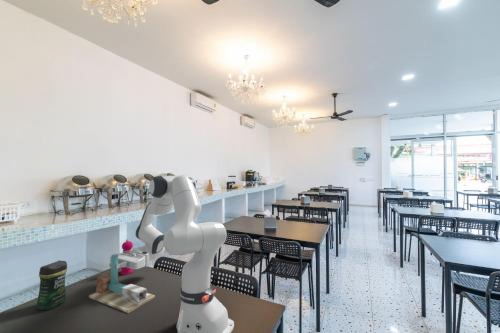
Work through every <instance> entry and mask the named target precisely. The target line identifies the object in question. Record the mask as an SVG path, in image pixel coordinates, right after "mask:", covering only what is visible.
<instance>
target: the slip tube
mask: <svg viewBox="0 0 500 333" xmlns="http://www.w3.org/2000/svg"><path fill="white" fill-rule="evenodd" d="M118 254H119V253H114V254H111V256H110V257H111V267H110V272H111V279H110V282H109V283H108V285H107V289H108V290H111V291H114V292H117V293H120V294H122V287H125V286H127V285H128V284H123V283H120V282H119V268H118V269H117V268H115V264H118ZM117 281H118V282H117Z"/></svg>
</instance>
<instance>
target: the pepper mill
mask: <svg viewBox="0 0 500 333" xmlns="http://www.w3.org/2000/svg"><path fill="white" fill-rule="evenodd" d="M121 244H122V245H121V249H122V253H127V254H130V253H131V251H132V250H133V249H132V248H133V246H134V243H133V242H132V241H130V239H129V238H127V239H126V240H125V241H124V242H123V243H121ZM133 270H134V269H131V268H127V267H121V268H120V275H124V276H125V275H126V274H127V275H130V274H132V273H133V272H134V271H133ZM131 272H132V273H131ZM127 275H126V276H127Z"/></svg>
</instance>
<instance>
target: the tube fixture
mask: <svg viewBox="0 0 500 333" xmlns="http://www.w3.org/2000/svg"><path fill="white" fill-rule="evenodd" d="M110 279H111V271H110V272H108V273H106V274H103V275H100V276H98V277H96V292H94V293H91V294H89V295H88V298H89V299H92V300H93V301H96V302H99V303H101V304H103V305H106V306H109V307H112V308H114V309H117V310H120V311H122V312H124V313H127V314H129V313H131V312H133V311H135V310H136V309H138V308H140V307H142V306H143V305H145V304H146V303H148V302H150V301H152V300H153V299H156V295H154V294H152V293H149V292H148V289H147V288H146V287H142V286H139V285H136V284H132V283H130V284H129V283H128V284H126V285H127V286H125V287H122V294H120V293H117V292H114V291H111V290H108V289H107V285H108V283H109V282H110ZM117 282H118V283H119V280H118V281H117Z"/></svg>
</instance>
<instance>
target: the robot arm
mask: <svg viewBox="0 0 500 333" xmlns="http://www.w3.org/2000/svg"><path fill="white" fill-rule="evenodd" d="M148 188H149V189H148V190H149V193H150V195H151V196H152V200H151V201H150V202H149V203H148V204H147V205H146V207H145V209H144V212H143V214H142V217H141V220H140V222H139V224H138V226H137V227H136V230H135V237H136V238H137V239H138V240H139V241H141V242H142V243H143V244H145V245H144V246H141V247H138V248H135V249H132V251H131V253H130V254H127V253H123V252H119V253H117V254H118V264H115V268H117V269H118V270H119V269H121V267H127V268H131V269H133V270H139V269H142V268H144V267H146V268H147V267H148V266H149V264H150V262H151V261H154V260H156V259H158V258H159V257H161V256H162V255H163V254H164V253H165V252H166V253H167V254H169V255H170V256H185V255H188V254H189V255H190V254H193V256H191V258H190V259H189V260H188V261H186V262H185V264H184V265H183V267H182V271H181V287H180V294H179V296H180V298H179V299H180V308H179V313H178V314H179V315H178V319H177V323H176V325H175V326H176V327H175V328H176V330H177V333H232V332H233V331H234V328H235V321H234V320H232V319H231V318H229V315H228V310H227V308H226V307H225V305H223V304H222V303H221V302H220V300H218V298H217V297H216V296H215V293H217V291H216V290H217V289H216V288H215V289H214V290H213V286H212V285H211V275H212V274H211V271H212V265H213V263H214V259H215V256H216V255H217V253H218V251H219V250H220V248H221V247H222V246H223V245H224V244H225V242H226V240H227V235H228V234H227V229H226V227H225V226H224V224H223V223H221V222H219V221H218V222H217V221H206V222H198V223H196V222H194V220H195V219H197V217H199V215H200V214H201V213H202V204H201V201H200V197H199V195H198V192H197V189H196V181H195V180H194V178H192V177H190V176H187V175H183V174H181V175H156V176H153V177H152V178H151V180H150V183H149V186H148ZM173 209H174V216H175V217H174V222H173V224H172V226H171V227H170V228H169V229H168V230H167V231H166V232H165V234H164V233H162V232H161V231H159V230H158V229H157V228H156V227H154V225H153V224H152V223H153V222H152V221H153V219H154V217H155V216H159V217H160V216H165V215H168V214H169V213H170V212H172V210H173ZM108 267H110V268H111V256H110V257H109V263H108Z"/></svg>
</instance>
